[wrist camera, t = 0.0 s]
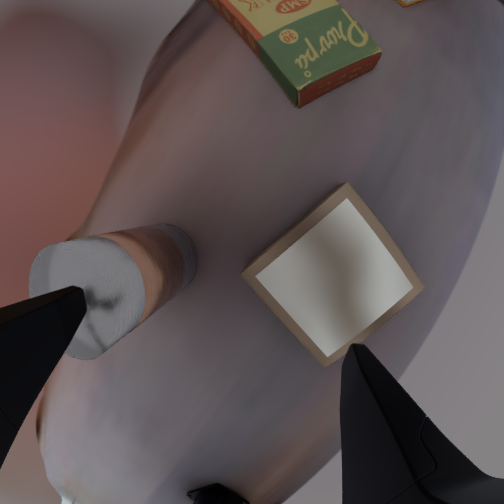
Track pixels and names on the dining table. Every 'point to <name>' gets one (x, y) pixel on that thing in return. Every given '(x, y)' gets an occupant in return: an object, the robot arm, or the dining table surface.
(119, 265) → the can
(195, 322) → the dining table surface
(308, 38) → the carton
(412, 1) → the supplement box
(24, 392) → the robot arm
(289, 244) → the board
